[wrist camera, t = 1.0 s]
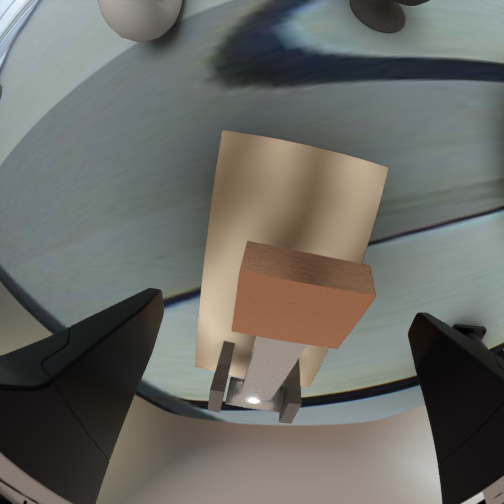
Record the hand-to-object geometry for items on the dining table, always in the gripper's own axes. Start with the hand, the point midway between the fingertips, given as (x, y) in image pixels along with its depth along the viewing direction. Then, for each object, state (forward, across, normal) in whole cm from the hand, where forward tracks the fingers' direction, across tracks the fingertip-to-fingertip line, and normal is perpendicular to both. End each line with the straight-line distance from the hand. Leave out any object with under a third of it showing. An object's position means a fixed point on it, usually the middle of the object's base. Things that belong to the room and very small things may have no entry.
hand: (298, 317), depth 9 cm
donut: (+14, +11, -17) cm, 25 cm away
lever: (+6, 0, +6) cm, 9 cm away
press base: (+13, -1, +6) cm, 14 cm away
